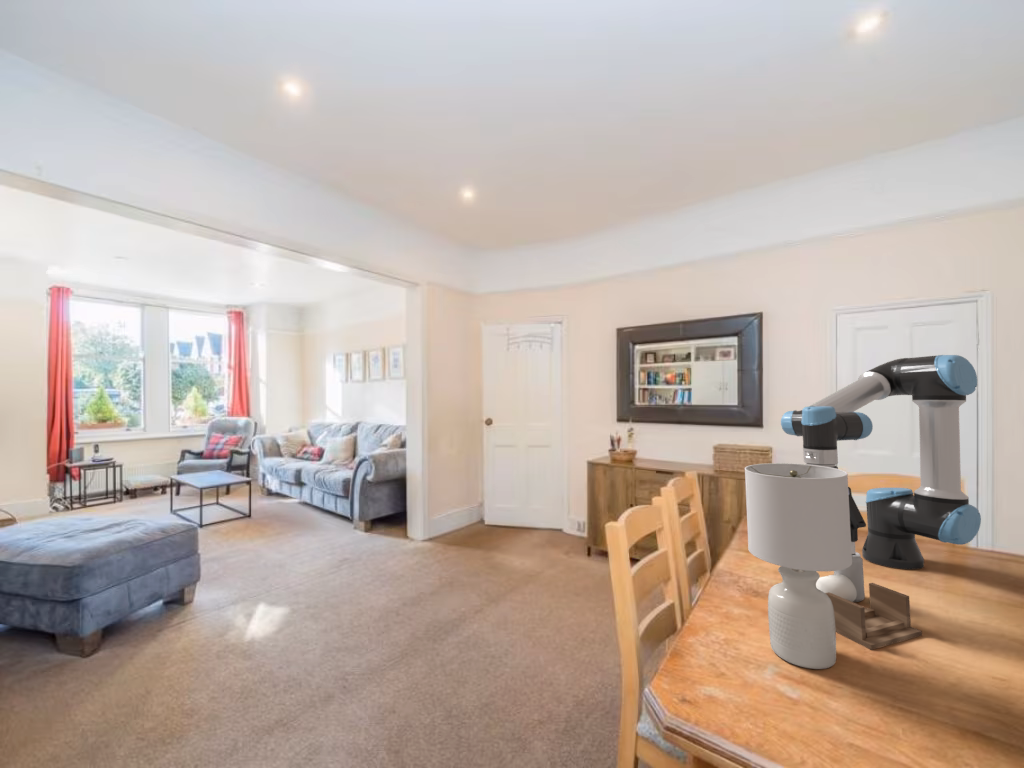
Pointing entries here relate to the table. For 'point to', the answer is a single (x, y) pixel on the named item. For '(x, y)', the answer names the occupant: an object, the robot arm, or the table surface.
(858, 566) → the beverage can
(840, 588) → the cylinder
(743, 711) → the table surface
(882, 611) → the holder
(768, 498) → the lamp
